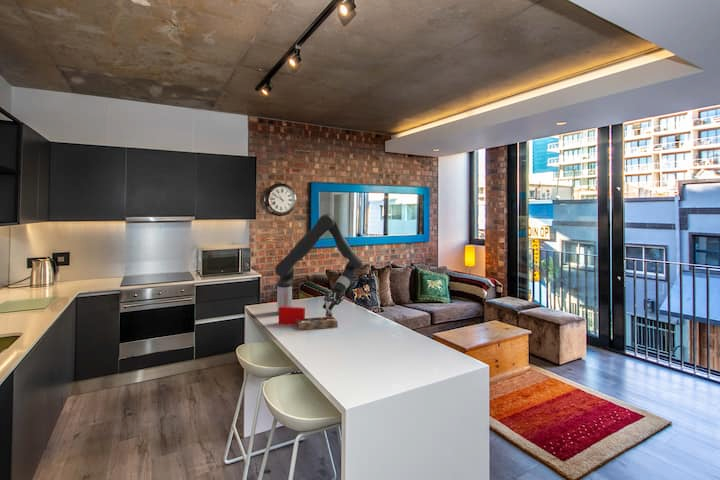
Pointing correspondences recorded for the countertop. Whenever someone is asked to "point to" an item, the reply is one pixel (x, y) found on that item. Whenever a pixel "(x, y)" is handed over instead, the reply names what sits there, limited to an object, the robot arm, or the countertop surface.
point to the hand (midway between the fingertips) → (326, 308)
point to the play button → (291, 315)
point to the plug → (328, 301)
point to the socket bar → (317, 323)
